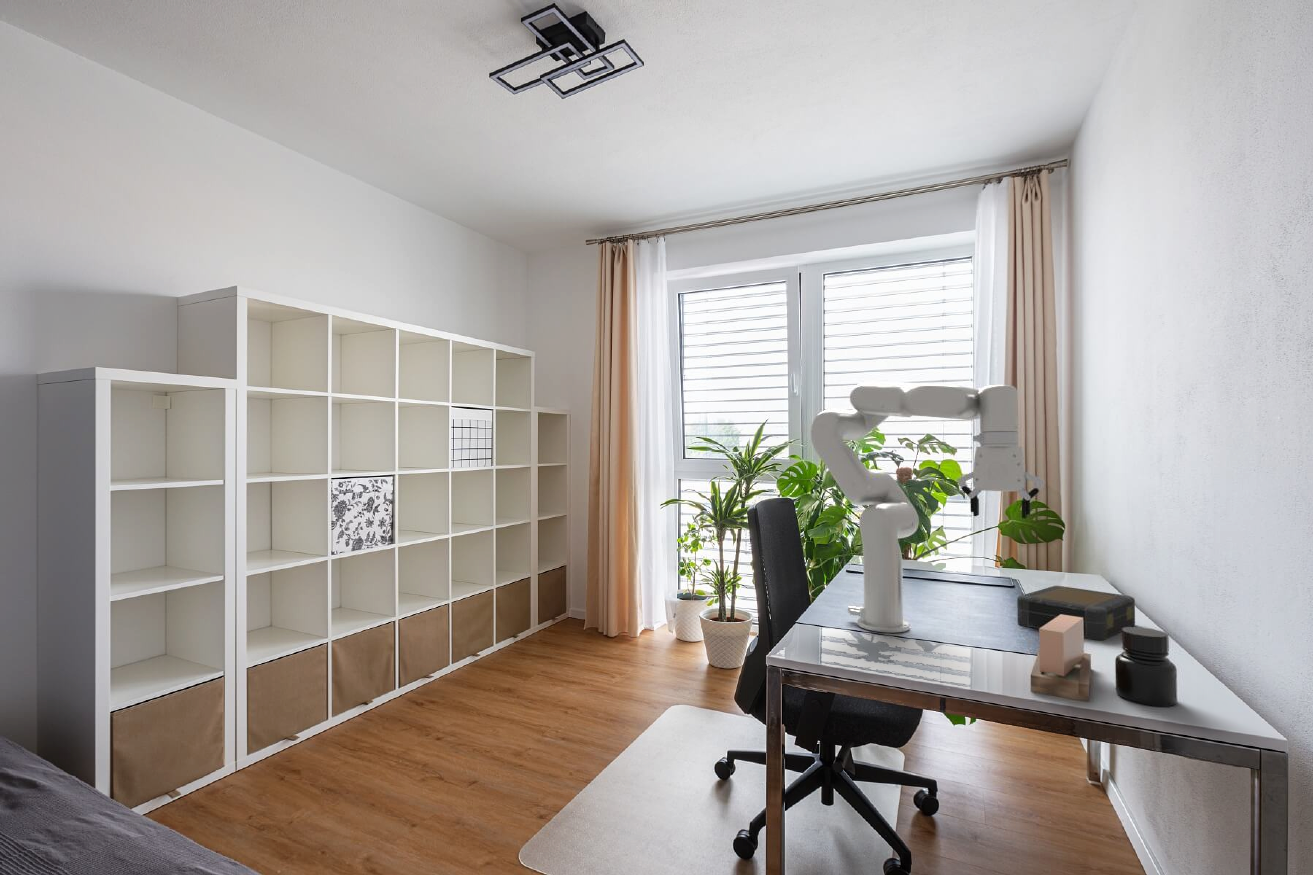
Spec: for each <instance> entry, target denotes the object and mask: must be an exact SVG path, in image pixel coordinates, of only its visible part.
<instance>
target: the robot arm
mask: <svg viewBox="0 0 1313 875" xmlns="http://www.w3.org/2000/svg"><path fill="white" fill-rule="evenodd" d="M849 401H850V404H851V406H852V408H853V409H840V408H839V409H838V408H830V409H826V410H823V411H820V412H819V413H818V414H816V416H815V418H814V419H813V420H812V424H811V427H810V428H811V430H810V439H811V440H810V441H811V443H812V447H813V448H814V451H815V452H816V454H817V456H818V458H820V459H821V462H823V463H824V465H825V467H827V470H828V471H829V473H830V474H831V476H832V478H833V479H834V481H835V482H836V484H837V485H838V486H839V489H840V490H841V492H842V493H843V495H844V496H845V498H846V499H847V500H848V501H849V502H850V504H853V505H856V506H867V507H866V508H864V510H863V511H862V512H861V514H860V517H859V524H858V525H859V532H860V536H861V537H860V538H861V542H862V558H863V559H862V561H863V562H862V564H863V606H860V607H857V606H853V605H849V606H848V608H847V612H848V614H850V616H851V615H852V616H858V617H859V618H858V619H857V626H859V627H860V628H862V629H864V630H868V631H871V632H879V633H887V634H888V633H895V634H896V633H903V632H907V631H909V630H910V623H909V622H908V621H906V620H904V606H903V605H904V604H903V603H904V592H903V590H904V586H903V585H904V584H903V583H904V582H903V581H904V580H903V577H904V576H903V571H904V570H903V568H904V567H903V554H902V550H901V549H902V548H901V546H900V542H899V539H904V538H908V537H910V536H912V535H913V534H915V533H916V532H917V530H918V527H919V524H920V523H919V522H920V519H919V518H920V517H919V515H918V512H917V510H916V508H915V506H914V505H913V504H912V502H911V501H910V499H909V498H908V496H907V495H906V494H905V493H904V491H903V490H902V488H901V487H900V485H899V484H898V483H897V481H896V479H894V477H893V476H892V475H891V474H889V473H887V472H886V471H884V470H880V469H869V468H867V467H866V465H864V464H863V462H862V461H861V459H860V458H859V456H858V455H857V453H856V452H855V451H854V450H853V449H852V448H851V446H849V445H848V444H847V443H846V442H845V441H857V440H861V439H863V438H865V437H867V436H868V434H870V433H871V432H872V431H874V430H875V429H876V428H877V427H878V426H880V425H881V424H882V423H883V422H884V421H885V420H887V419H888V418H889V417H890V416H891V417H900V418H901V417H902V418H912V417H913V416H916V417H929V418H931V417H932V418H942V419H951V420H952V419H954V420H955V419H956V420H962V421H963V420H965V421H973V420H978V419H979V433H978V434H977V435H973V436H972V440H973V442H977V443H979V445H980V446H976V448H975V452H974V458H973V471H971V472H969V473H966V474H965V475H963V476H961V477H958V478H957V480H956V481H957V484H958V485H959V487H960V488H961V490H962V492H964V494H966V495H967V497H969V499H970V500H969V501H970V513H972V514H973V515H972V516H973V517H978V516H979V515H980V499H979V498H978V496H979V494H981V492H982V491H983V492H984V491H985V492H987V491H988V492H989V491H990V492H1017V493H1019V495H1021V496H1022V500H1021V518H1022V519H1025V520H1026V519H1027V518H1028V516H1030V515H1031V500H1032V499H1033V498H1034V497H1036V495H1038V494H1039V492H1040V491H1041V489H1042V488H1043V486H1044V484H1045V480H1044V479H1042V478H1040V477H1038V476H1036V475H1033V474H1031V473H1029V472H1027V471H1026V466H1025V457H1024V452H1023V449H1022V448H1023V447H1022V446H1019V423H1018V421H1019V416H1018V414H1019V413H1018V412H1019V411H1018V389H1017V388H1016V387H1015V386H1013V385H1009V384H996V385H993V384H992V385H985V386H984V387H982V388H974V387H973V388H972V387H966V386H959V385H950V384H949V385H947V384H945V385H944V384H918V383H917V384H915V383H913V382H880V381H877V382H876V381H865V382H860V383H858V384H857V385H855V386H854V387H853V388H852V389H851V391H850V395H849ZM1026 479H1027V480H1029V481H1031V482H1033V483H1034V484H1035V485H1034V486H1033V489H1031V490H1030V491H1029V492H1028V490H1027V489H1026V484H1027V482H1026V481H1027V480H1026ZM969 480H972V482H973V490H972V489H971V488H970V487H969V486H968V485H967V481H969Z"/></svg>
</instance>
